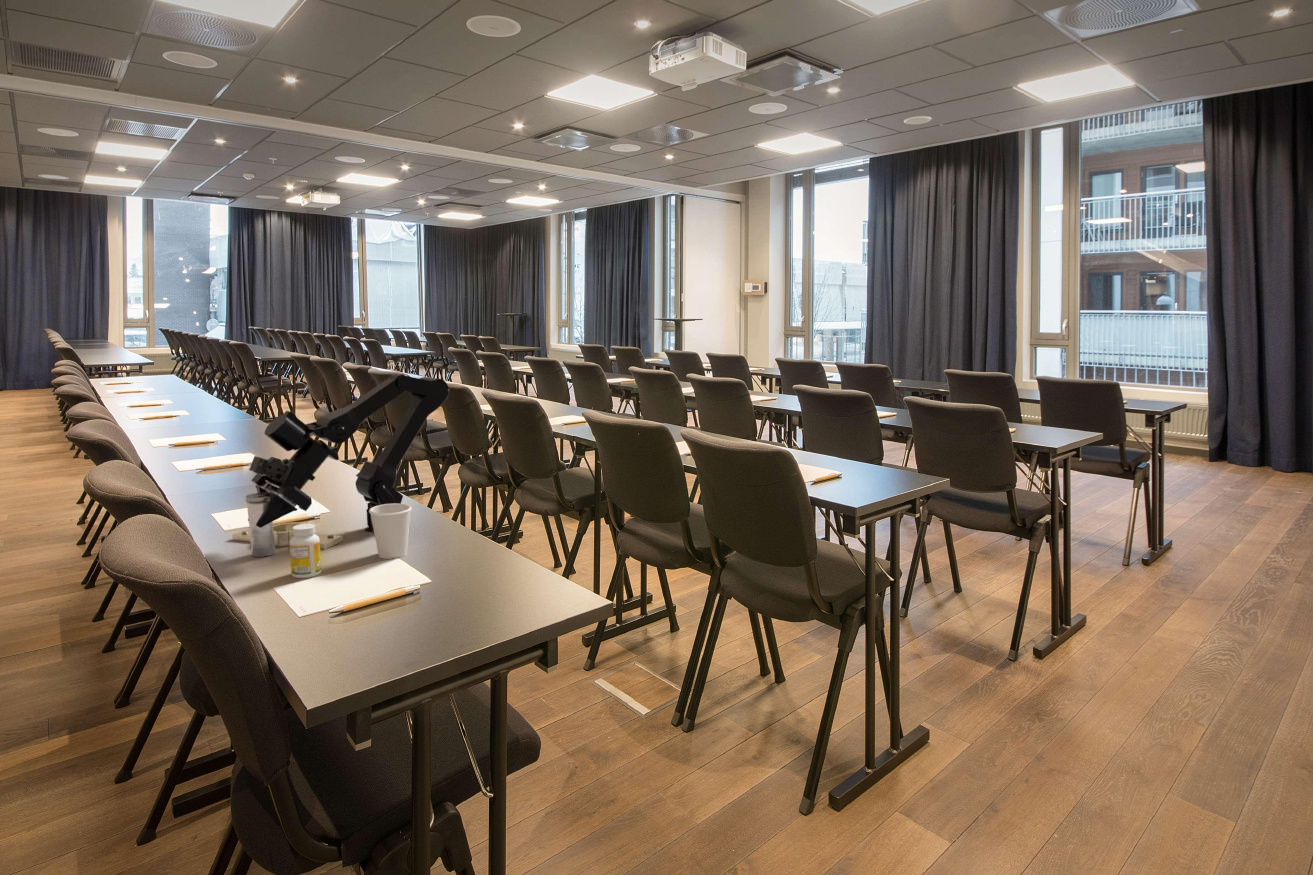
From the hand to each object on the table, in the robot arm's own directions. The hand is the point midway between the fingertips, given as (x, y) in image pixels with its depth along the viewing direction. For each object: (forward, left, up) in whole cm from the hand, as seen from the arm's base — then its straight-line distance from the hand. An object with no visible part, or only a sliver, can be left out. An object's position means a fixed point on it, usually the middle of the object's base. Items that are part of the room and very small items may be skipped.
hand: (253, 524), depth 159 cm
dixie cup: (-27, -9, -7) cm, 29 cm away
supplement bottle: (-18, +6, -7) cm, 20 cm away
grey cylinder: (-1, -1, -7) cm, 7 cm away
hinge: (+1, -11, -7) cm, 13 cm away
